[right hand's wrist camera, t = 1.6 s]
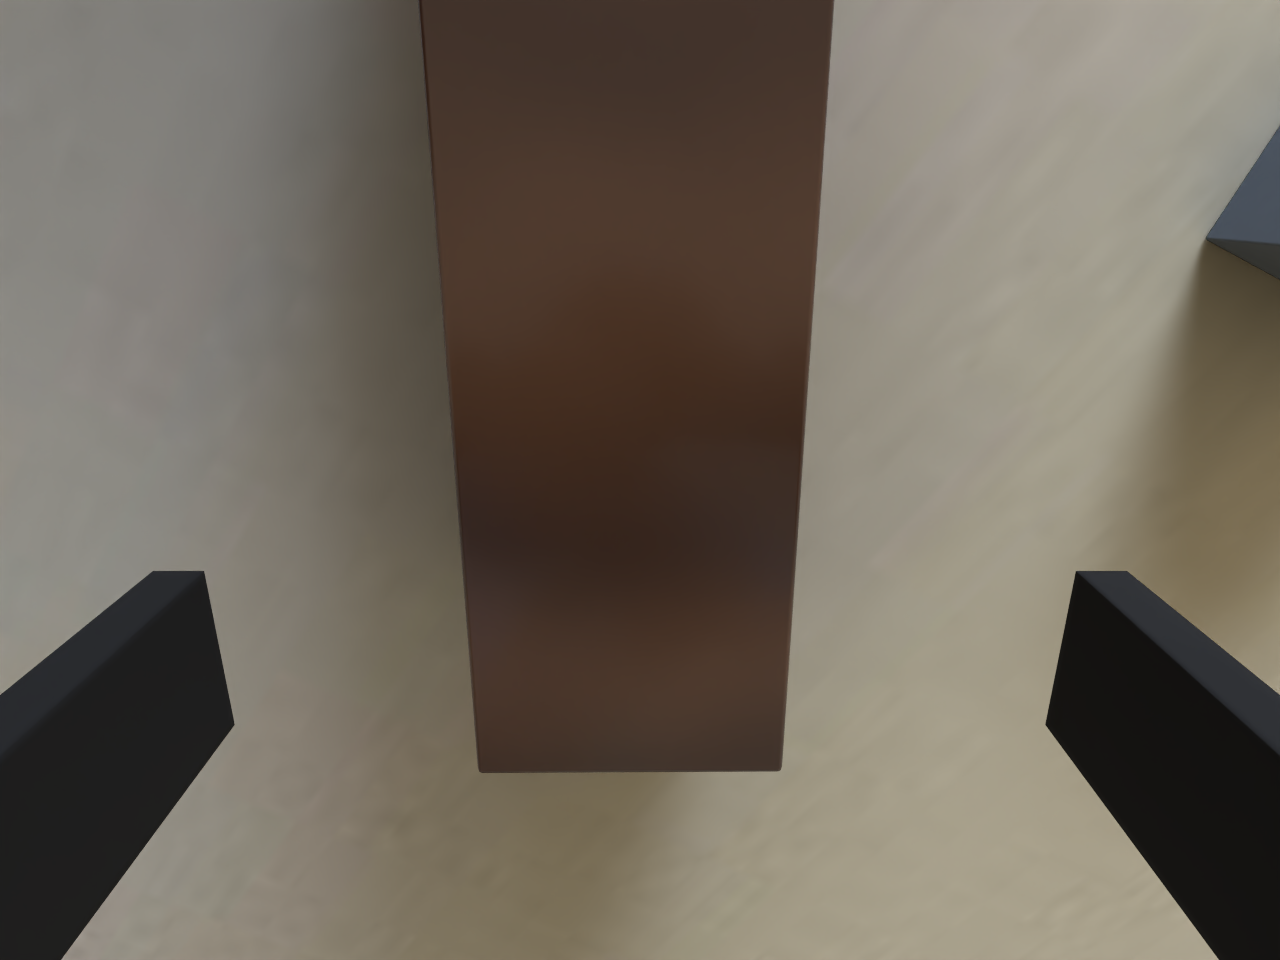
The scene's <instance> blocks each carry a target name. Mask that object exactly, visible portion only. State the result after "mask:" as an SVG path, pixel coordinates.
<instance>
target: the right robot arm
mask: <svg viewBox="0 0 1280 960" xmlns="http://www.w3.org/2000/svg"><path fill="white" fill-rule="evenodd" d="M234 725H235V724H234V719H233V714H232V709H231V704H230V699H229V694H228V689H227V684H226V679H225V674H224V669H223V664H222V659H221V654H220V649H219V644H218V639H217V634H216V629H215V624H214V619H213V614H212V609H211V604H210V599H209V594H208V589H207V584H206V579H205V574H204V571H153V572H151V573H150V574H149V575H148V576H146V577H145V578H144V579H143V580H142V581H140V582H139V583H138V584H137V585H135V586H134V587H133V588H132V589H130V590H129V591H128V592H127V593H125V594H124V595H123V596H122V597H121V598H119V599H118V600H117V601H116V602H114V603H113V604H112V605H111V606H109V607H108V608H107V609H106V610H105V611H103V612H102V613H101V614H100V615H98V616H97V617H96V618H95V619H93V620H92V621H91V622H90V623H89V624H87V625H86V626H85V627H84V628H82V629H81V630H80V631H79V632H77V633H76V634H75V635H74V636H73V637H71V638H70V639H69V640H68V641H66V642H65V643H64V644H63V645H61V646H60V647H59V648H58V649H56V650H55V651H54V652H53V653H52V654H50V655H49V656H48V657H47V658H45V659H44V660H43V661H42V662H40V663H39V664H38V665H37V666H36V667H34V668H33V669H32V670H31V671H29V672H28V673H27V674H26V675H24V676H23V677H22V678H21V679H20V680H18V681H17V682H16V683H15V684H13V685H12V686H11V687H10V688H8V689H7V690H6V691H5V692H3V693H2V694H1V695H0V960H61V959H62V958H63V956H64V955H65V954H66V952H67V951H68V949H69V948H70V947H71V945H72V944H73V943H74V941H75V940H76V939H77V937H78V936H79V935H80V933H81V932H82V931H83V929H84V928H85V926H86V925H87V924H88V922H89V921H90V920H91V918H92V917H93V916H94V914H95V913H96V912H97V910H98V909H99V908H100V906H101V905H102V903H103V902H104V901H105V899H106V898H107V897H108V895H109V894H110V893H111V891H112V890H113V889H114V887H115V886H116V885H117V883H118V882H119V880H120V879H121V878H122V876H123V875H124V874H125V872H126V871H127V870H128V868H129V867H130V866H131V864H132V863H133V861H134V860H135V859H136V857H137V856H138V855H139V853H140V852H141V851H142V849H143V848H144V847H145V845H146V844H147V843H148V841H149V840H150V838H151V837H152V836H153V834H154V833H155V832H156V830H157V829H158V828H159V826H160V825H161V824H162V822H163V821H164V820H165V818H166V817H167V815H168V814H169V813H170V811H171V810H172V809H173V807H174V806H175V805H176V803H177V802H178V801H179V799H180V798H181V797H182V795H183V794H184V792H185V791H186V790H187V788H188V787H189V786H190V784H191V783H192V782H193V780H194V779H195V778H196V776H197V775H198V774H199V772H200V771H201V769H202V768H203V767H204V765H205V764H206V763H207V761H208V760H209V759H210V757H211V756H212V755H213V753H214V752H215V751H216V749H217V748H218V746H219V745H220V744H221V742H222V741H223V740H224V738H225V737H226V736H227V734H228V733H229V732H230V730H231V729H232V728H233V726H234ZM1045 725H1046V726H1047V728H1048V729H1049V730H1050V732H1051V733H1052V734H1053V736H1054V737H1055V738H1056V740H1057V741H1058V742H1059V744H1060V745H1061V746H1062V748H1063V749H1064V751H1065V752H1066V753H1067V755H1068V756H1069V757H1070V759H1071V760H1072V761H1073V763H1074V764H1075V765H1076V767H1077V768H1078V769H1079V771H1080V772H1081V774H1082V775H1083V776H1084V778H1085V779H1086V780H1087V782H1088V783H1089V784H1090V786H1091V787H1092V788H1093V790H1094V791H1095V792H1096V794H1097V795H1098V797H1099V798H1100V799H1101V801H1102V802H1103V803H1104V805H1105V806H1106V807H1107V809H1108V810H1109V811H1110V813H1111V814H1112V815H1113V817H1114V818H1115V820H1116V821H1117V822H1118V824H1119V825H1120V826H1121V828H1122V829H1123V830H1124V832H1125V833H1126V834H1127V836H1128V837H1129V838H1130V840H1131V841H1132V843H1133V844H1134V845H1135V847H1136V848H1137V849H1138V851H1139V852H1140V853H1141V855H1142V856H1143V857H1144V859H1145V860H1146V861H1147V863H1148V864H1149V866H1150V867H1151V868H1152V870H1153V871H1154V872H1155V874H1156V875H1157V876H1158V878H1159V879H1160V880H1161V882H1162V883H1163V885H1164V886H1165V887H1166V889H1167V890H1168V891H1169V893H1170V894H1171V895H1172V897H1173V898H1174V899H1175V901H1176V902H1177V903H1178V905H1179V906H1180V908H1181V909H1182V910H1183V912H1184V913H1185V914H1186V916H1187V917H1188V918H1189V920H1190V921H1191V922H1192V924H1193V925H1194V926H1195V928H1196V929H1197V931H1198V932H1199V933H1200V935H1201V936H1202V937H1203V939H1204V940H1205V941H1206V943H1207V944H1208V945H1209V947H1210V948H1211V949H1212V951H1213V952H1214V954H1215V955H1216V956H1217V958H1218V959H1219V960H1280V695H1279V694H1278V693H1277V692H1275V691H1274V690H1273V689H1272V688H1270V687H1269V686H1268V685H1267V684H1265V683H1264V682H1263V681H1262V680H1260V679H1259V678H1258V677H1257V676H1256V675H1254V674H1253V673H1252V672H1251V671H1249V670H1248V669H1247V668H1246V667H1244V666H1243V665H1242V664H1241V663H1240V662H1238V661H1237V660H1236V659H1235V658H1233V657H1232V656H1231V655H1230V654H1228V653H1227V652H1226V651H1225V650H1224V649H1222V648H1221V647H1220V646H1219V645H1217V644H1216V643H1215V642H1214V641H1212V640H1211V639H1210V638H1209V637H1207V636H1206V635H1205V634H1204V633H1203V632H1201V631H1200V630H1199V629H1198V628H1196V627H1195V626H1194V625H1193V624H1191V623H1190V622H1189V621H1188V620H1187V619H1185V618H1184V617H1183V616H1182V615H1180V614H1179V613H1178V612H1177V611H1175V610H1174V609H1173V608H1172V607H1171V606H1169V605H1168V604H1167V603H1166V602H1164V601H1163V600H1162V599H1161V598H1159V597H1158V596H1157V595H1156V594H1155V593H1153V592H1152V591H1151V590H1150V589H1148V588H1147V587H1146V586H1145V585H1143V584H1142V583H1141V582H1140V581H1138V580H1137V579H1136V578H1135V577H1134V576H1132V575H1131V574H1130V573H1129V572H1127V571H1076V574H1075V579H1074V584H1073V589H1072V594H1071V599H1070V604H1069V609H1068V614H1067V619H1066V624H1065V629H1064V634H1063V639H1062V644H1061V649H1060V654H1059V659H1058V664H1057V669H1056V674H1055V679H1054V684H1053V689H1052V694H1051V699H1050V704H1049V709H1048V714H1047V719H1046V724H1045Z"/></svg>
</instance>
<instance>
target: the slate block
mask: <svg viewBox="0 0 1280 960" xmlns="http://www.w3.org/2000/svg"><path fill="white" fill-rule="evenodd" d="M1206 239H1207V240H1208V241H1210V242H1212V243H1214V244H1215V245H1217V246H1219V247H1221V248H1223V249H1225V250H1226V251H1228V252H1230V253H1232V254H1234V255H1236V256H1238V257H1239V258H1241V259H1243V260H1245V261H1247V262H1249V263H1250V264H1252V265H1254V266H1256V267H1258V268H1260V269H1261V270H1263V271H1265V272H1267V273H1269V274H1271V275H1272V276H1274V277H1276V278H1278V279H1280V127H1279V128H1278V130H1277V131H1276V133H1275V134H1274V136H1273V137H1272V139H1271V140H1270V142H1269V143H1268V145H1267V146H1266V148H1265V149H1264V151H1263V152H1262V154H1261V155H1260V157H1259V158H1258V160H1257V161H1256V163H1255V164H1254V166H1253V167H1252V169H1251V170H1250V172H1249V173H1248V175H1247V177H1246V178H1245V180H1244V181H1243V183H1242V184H1241V186H1240V187H1239V189H1238V190H1237V192H1236V193H1235V195H1234V196H1233V198H1232V199H1231V201H1230V202H1229V204H1228V205H1227V207H1226V208H1225V210H1224V211H1223V213H1222V214H1221V216H1220V217H1219V219H1218V220H1217V222H1216V223H1215V225H1214V226H1213V228H1212V229H1211V231H1210V232H1209V234H1208V235H1207V237H1206Z"/></svg>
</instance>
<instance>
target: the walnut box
mask: <svg viewBox="0 0 1280 960" xmlns="http://www.w3.org/2000/svg"><path fill="white" fill-rule="evenodd" d="M418 6H419V18H420V31H421V44H422V57H423V70H424V82H425V95H426V108H427V121H428V134H429V147H430V159H431V172H432V185H433V198H434V211H435V223H436V236H437V249H438V262H439V275H440V287H441V300H442V313H443V326H444V339H445V351H446V364H447V377H448V390H449V403H450V415H451V428H452V441H453V454H454V467H455V480H456V492H457V505H458V518H459V531H460V544H461V556H462V569H463V582H464V595H465V608H466V620H467V633H468V646H469V659H470V672H471V684H472V697H473V710H474V723H475V736H476V748H477V761H478V769H479V771H480V772H482V773H546V772H739V771H780V770H781V767H782V758H783V743H784V729H785V714H786V699H787V685H788V670H789V655H790V641H791V626H792V611H793V597H794V582H795V567H796V553H797V538H798V523H799V509H800V494H801V480H802V465H803V450H804V436H805V421H806V406H807V392H808V377H809V362H810V348H811V333H812V318H813V304H814V289H815V274H816V260H817V245H818V230H819V216H820V201H821V187H822V172H823V157H824V143H825V128H826V113H827V99H828V84H829V69H830V55H831V40H832V25H833V11H834V0H418Z"/></svg>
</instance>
